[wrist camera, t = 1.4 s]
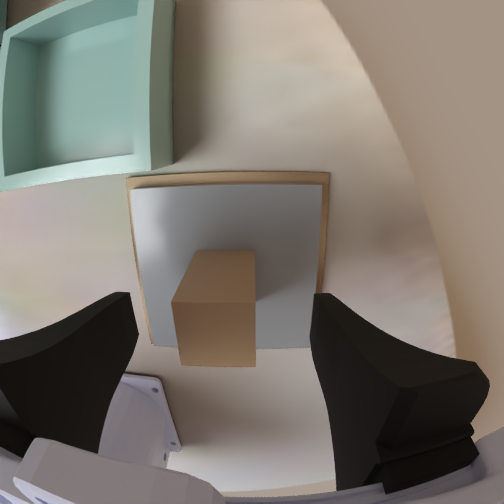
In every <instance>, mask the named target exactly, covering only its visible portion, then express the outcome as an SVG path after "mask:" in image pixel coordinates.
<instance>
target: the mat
mask: <svg viewBox="0 0 504 504" xmlns="http://www.w3.org/2000/svg"><path fill="white" fill-rule="evenodd" d="M126 181H127V194H128V204H129V214H130V223H131V232H132V239H133V247H134V254H135V261H136V267H137V273H138V280H139V285H140V291H141V296H142V302H143V307H144V312H145V317H146V322H147V326H148V331H149V336H150V340H151V344H154V343H153V339H152V334H151V330H150V325H149V320H148V315H147V310H146V305H145V299H144V294H143V288H142V282H141V276H140V270H139V264H138V257H137V250H136V242H135V235H134V226H133V217H132V208H131V197H130V189H133V188H135V187H145V186H160V185H178V184H202V183H241V182H291V183H319V184H321V185H322V208H321V227H320V243H319V258H318V271H317V282H316V293H321V289H322V279H323V268H324V256H325V243H326V228H327V211H328V190H329V173H324V172H286V171H243V172H205V173H183V174H166V175H152V176H139V177H128V178H126ZM310 346H311V344H310Z"/></svg>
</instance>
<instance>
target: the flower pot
mask: <svg viewBox="0 0 504 504" xmlns="http://www.w3.org/2000/svg"><path fill="white" fill-rule="evenodd" d="M7 1H8V0H0V44H1V43H2V39H3V34H4V31H6V16H7Z"/></svg>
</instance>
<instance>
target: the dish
mask: <svg viewBox="0 0 504 504" xmlns="http://www.w3.org/2000/svg"><path fill="white" fill-rule="evenodd" d="M175 9H176V2H175V0H65V1H63V2H61V3H58V4H56V5H54V6H52V7H49V8H47V9H45V10H43V11H41V12H39V13H37V14H35V15H33V16H31V17H29V18H27V19H25V20H23V21H22V22H20V23H18V24H16V25H14V26H13V27H11V28H9V29H7V30H6V31H4V34H3V39H2V45H1V51H0V192H2V191H6V190H11V189H16V188H22V187H27V186H33V185H38V184H44V183H50V182H57V181H63V180H70V179H77V178H85V177H92V176H101V175H110V174H119V173H129V172H140V171H151V170H155V169H158V168H162V167H165V166H169V165H172V164H174V151H173V47H174V26H175Z"/></svg>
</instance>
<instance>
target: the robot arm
mask: <svg viewBox="0 0 504 504" xmlns="http://www.w3.org/2000/svg"><path fill="white" fill-rule="evenodd" d="M138 336H139V333H138V328H137V324H136V320H135V315H134V311H133V306H132V301H131V297H130V292H115V293H112V294H110V295H108V296H106V297H104V298H102V299H100V300H98V301H96V302H94V303H93V304H91V305H89V306H87V307H85V308H84V309H82V310H80V311H78V312H76V313H74V314H72V315H70V316H68V317H66V318H65V319H63V320H61V321H59V322H56V323H54V324H52V325H50V326H47V327H45V328H42V329H40V330H37V331H34V332H31V333H27V334H24V335H21V336H18V337H14V338H9V339H5V340H0V504H504V427H502V428H500V429H498V430H497V431H495V432H493V433H490V434H488V435H486V436H484V437H482V438H481V439H479V440H478V441H477V442H475V443H474V442H473V440H472V438H471V437H470V436H472V435H473V434H474V429H473V427H472V425H471V424H470V423H471V422H472V420H473V419H474V417H475V416H476V414H477V413H478V411H479V410H480V408H481V406H482V405H483V403H484V401H485V399H486V397H487V395H488V391H489V387H490V384H489V380H488V378H487V377H486V375H485V374H484V373H483V372H482V370H481V369H480V368H479V366H478V365H477V364H476V363H475V362H472V361H466V360H461V359H455V358H450V357H446V356H442V355H439V354H435V353H432V352H429V351H426V350H423V349H420V348H418V347H415V346H413V345H410V344H408V343H405V342H403V341H401V340H399V339H397V338H395V337H393V336H391V335H389V334H387V333H385V332H384V331H382V330H380V329H379V328H377V327H376V326H374V325H372V324H371V323H369V322H368V321H366V320H365V319H364V318H362V317H361V316H359V315H358V314H357V313H355V312H354V311H353V310H351V309H350V308H349V307H347V306H346V305H345V304H344V303H342V302H341V301H340V300H339V299H337V298H336V297H335V296H333V295H332V294H330V293H314V299H313V309H312V318H311V328H310V337H309V338H310V344H311V351H312V357H313V361H314V365H315V368H316V371H317V375H318V378H319V381H320V385H321V388H322V391H323V395H324V398H325V401H326V406H327V410H328V415H329V422H330V428H331V435H332V443H333V451H334V461H335V472H336V489H337V491H335V492H327V493H320V494H311V495H300V496H285V497H255V498H254V497H223V496H222V495H221V494H220V493H219V492H218V491H217V490H216V489H215V488H214V487H213V486H212V485H211V484H210V483H208V482H206V481H203V480H201V479H198V478H196V477H194V476H191V475H189V474H187V473H182V472H178V471H173V470H169V469H166V467H167V462H168V458H169V453H170V451H173V452H180V451H181V444H180V441H179V438H178V435H177V432H176V429H175V426H174V423H173V420H172V417H171V414H170V410H169V407H168V404H167V400H166V397H165V393H164V390H163V386H162V383H161V381H160V380H159V379H158V378H155V377H148V376H139V375H130V374H124V372H125V370H126V368H127V366H128V363H129V361H130V359H131V357H132V355H133V352H134V349H135V346H136V343H137V339H138ZM155 388H156V389H155Z"/></svg>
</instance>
